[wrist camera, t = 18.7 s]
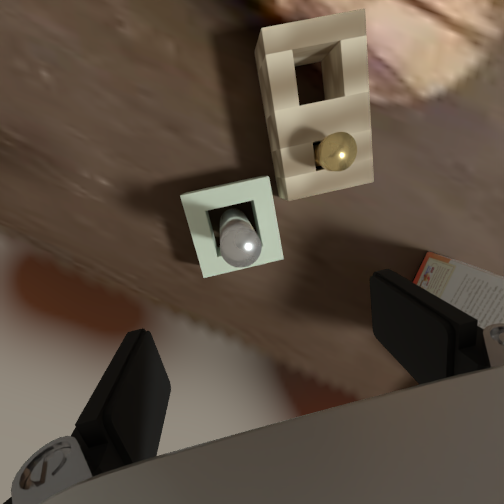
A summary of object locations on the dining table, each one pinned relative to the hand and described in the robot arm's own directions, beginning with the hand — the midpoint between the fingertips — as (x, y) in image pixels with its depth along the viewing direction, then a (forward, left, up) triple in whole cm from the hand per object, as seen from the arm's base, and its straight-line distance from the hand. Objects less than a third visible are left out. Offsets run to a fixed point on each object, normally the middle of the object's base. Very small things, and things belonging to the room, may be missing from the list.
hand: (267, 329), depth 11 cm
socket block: (-10, +11, -24) cm, 29 cm away
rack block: (0, 0, -24) cm, 24 cm away
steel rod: (0, 0, -24) cm, 24 cm away
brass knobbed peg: (-6, +11, -24) cm, 27 cm away
